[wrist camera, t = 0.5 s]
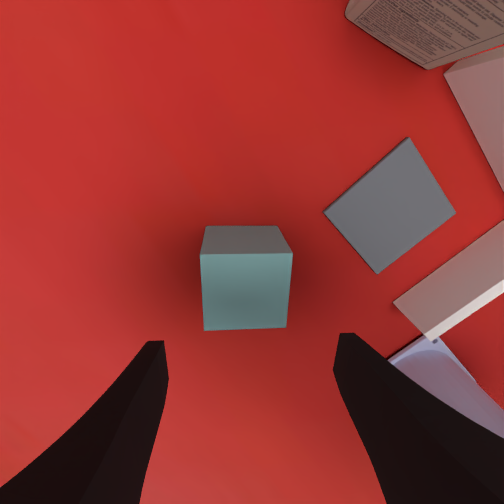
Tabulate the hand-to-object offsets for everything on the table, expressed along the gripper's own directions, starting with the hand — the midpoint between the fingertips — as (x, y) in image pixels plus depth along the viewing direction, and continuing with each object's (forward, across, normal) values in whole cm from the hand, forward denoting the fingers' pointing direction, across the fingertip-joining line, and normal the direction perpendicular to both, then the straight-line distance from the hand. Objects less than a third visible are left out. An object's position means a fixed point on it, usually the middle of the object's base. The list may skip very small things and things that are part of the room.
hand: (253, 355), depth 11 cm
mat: (+10, -11, -4) cm, 15 cm away
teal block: (+10, 0, 0) cm, 10 cm away
